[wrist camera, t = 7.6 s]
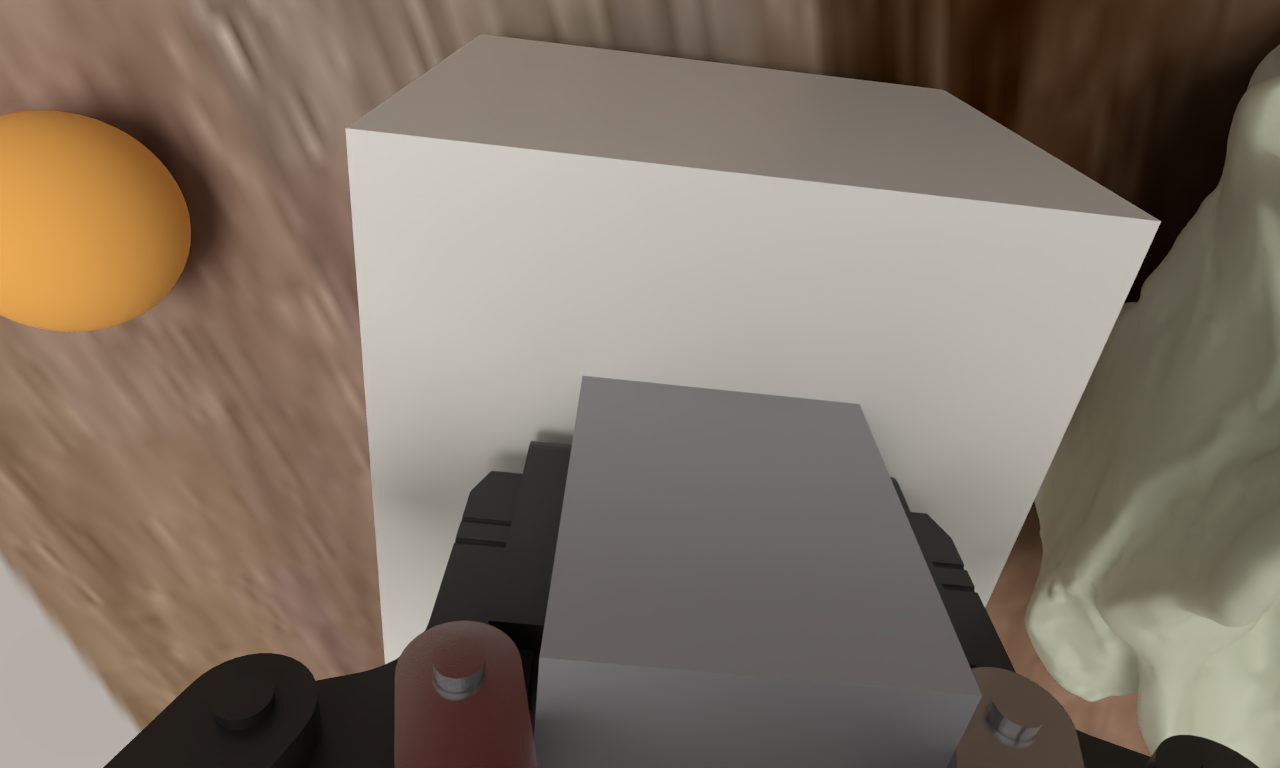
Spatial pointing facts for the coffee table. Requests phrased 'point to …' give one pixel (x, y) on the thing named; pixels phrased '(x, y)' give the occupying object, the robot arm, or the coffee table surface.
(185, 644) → the coffee table surface
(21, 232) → the ball
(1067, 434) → the wavy plaster lump
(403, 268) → the stacked blocks
